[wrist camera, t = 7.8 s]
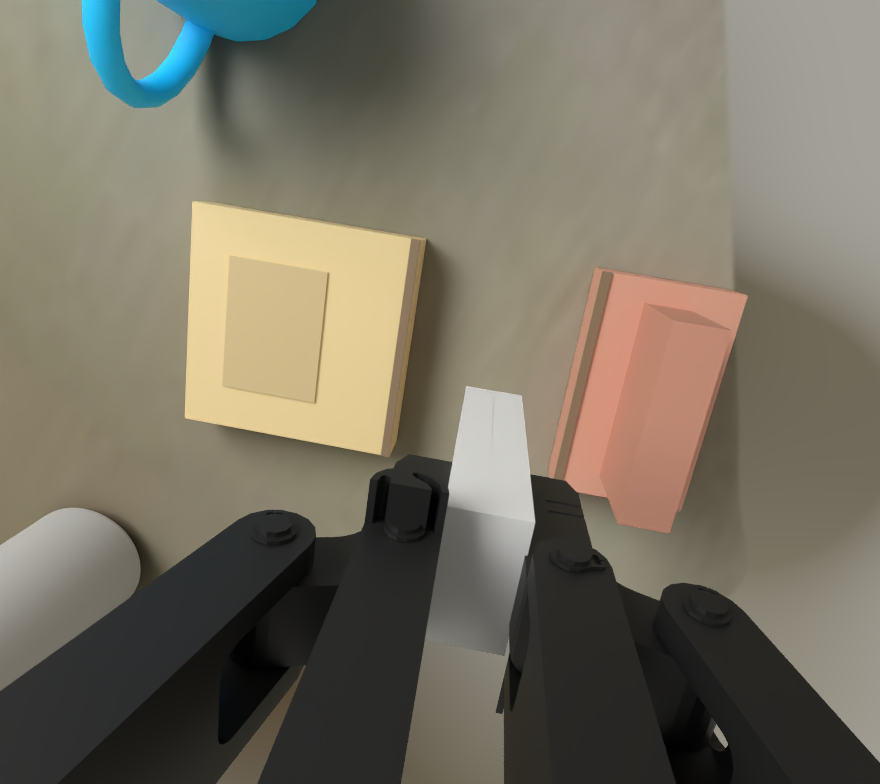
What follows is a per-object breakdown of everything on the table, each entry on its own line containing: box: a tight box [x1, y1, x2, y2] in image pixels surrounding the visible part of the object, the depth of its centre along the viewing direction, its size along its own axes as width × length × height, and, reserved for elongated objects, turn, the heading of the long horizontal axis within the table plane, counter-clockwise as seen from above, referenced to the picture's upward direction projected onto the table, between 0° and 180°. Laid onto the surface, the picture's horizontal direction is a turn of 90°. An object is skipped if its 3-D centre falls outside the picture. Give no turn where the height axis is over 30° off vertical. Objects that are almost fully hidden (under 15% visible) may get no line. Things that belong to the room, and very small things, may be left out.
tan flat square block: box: [185, 201, 427, 458], centre depth 28 cm, size 10×10×2 cm
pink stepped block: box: [548, 267, 748, 534], centre depth 25 cm, size 10×6×6 cm, turn 171°
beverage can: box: [0, 508, 141, 691], centre depth 28 cm, size 6×6×12 cm
